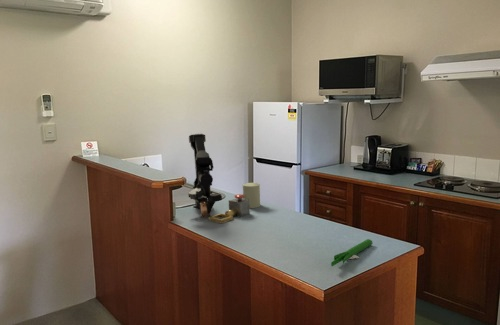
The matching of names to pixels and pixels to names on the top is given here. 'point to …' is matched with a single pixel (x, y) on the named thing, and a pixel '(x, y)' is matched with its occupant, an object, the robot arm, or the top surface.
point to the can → (252, 194)
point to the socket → (225, 219)
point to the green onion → (351, 252)
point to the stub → (204, 209)
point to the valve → (238, 206)
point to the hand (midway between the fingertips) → (205, 212)
